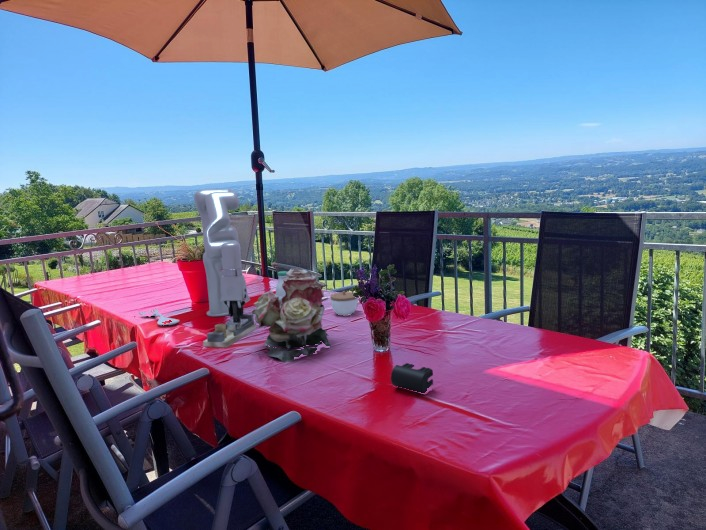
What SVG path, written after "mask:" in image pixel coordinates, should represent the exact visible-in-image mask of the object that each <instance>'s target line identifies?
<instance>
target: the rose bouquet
mask: <svg viewBox="0 0 706 530" xmlns="http://www.w3.org/2000/svg"><path fill="white" fill-rule="evenodd" d="M286 275H287V279H283V281H284V283H283V284H282V287H283V289H284V290H285V292H286V295H285V297H281V296H277V295H276V293H274V292H273V290H272V289H270V290H269V291H266V292H263V293H262V295H260V296H259V297H258V298H257V301H256V302H254V303H253V305H254V306H255V307H256V308H254V309H253V310H251V314H253V315H255V316H254V322H256V324H258V328H259V329H260V328H264V329H266V328H268V329H267V332H268V331H269V334H268V336H267V337H266V340H265V342H264V343H263V345H265V346H266V345H267V346H268V345H269V346H270V347H268V348H267V347H265V346H264V347H265V349H267V350H269V351H268V352H266V355H267V356H269V357H272V358H273V357H274V358H278V359H279V360H280V361H281V362H283V363H289V362H293V361H298V360H297V359H296V360H294V357H299V356H300V355H301V354H303V355H309V356H311V355H310V354H313V353H315V351H316V350H317V348H307V347H308V346H306V345H315V344H318V345H320V344H321V343H322V342H323V343H324V344H325V345H326V346H330V347H331V341H330V340H329V338H328V336H329V337H330V335H329V334H328V333H327V332H328V331H327V330H326V329H323V324H322V320H323V316H324V311H325V305H324V304H323V302H326V301H328V300H329V299H330V298H328V297H326V296H325V292H323V289H324V288H326V287H328V285H327V284H326V283H325V282H321V281H319V280H317V277H319V273H318V272H316V273H315V274H314V273H312V272H311V271H307V269H303V268H296V267H291V268H290V269H289V270H287V272H286ZM325 297H326V298H325ZM320 341H322V342H321V343H320ZM277 346H278V347H279V346H282V347H283V348H275V347H277ZM303 346H305V348H304V349H301V350H287V349H294V348H293V347H297V348H296V349H299V347H303ZM315 346H316V345H315ZM273 347H274V348H273ZM284 348H285V349H284ZM286 361H287V362H286Z"/></svg>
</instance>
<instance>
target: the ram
mask: <svg viewBox="0 0 706 530" xmlns="http://www.w3.org/2000/svg"><path fill="white" fill-rule="evenodd" d="M231 302H232V314H233V316H232V318H231V319H229V320H228V321H226V322H225V324H226V329H227V331H236V330H238V329H239V328H241V327H242V326H244V325H246V324H247V323H248V319H240V317H238V312H237V308H238V302H237V301H231Z"/></svg>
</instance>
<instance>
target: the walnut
mask: <svg viewBox="0 0 706 530" xmlns="http://www.w3.org/2000/svg"><path fill="white" fill-rule="evenodd" d="M214 329H215V330H214V331H215V332H218V333H224V337H225V338H226V337H227V335H226V323H218V324H215V325H214Z"/></svg>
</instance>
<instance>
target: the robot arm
mask: <svg viewBox="0 0 706 530" xmlns="http://www.w3.org/2000/svg"><path fill="white" fill-rule="evenodd" d="M193 197H194V204H195V207H196V211H197V212H198V214H199V216H200V219H201V226H202V235H203V239H202V240H203V247H204V253H203V254H202V261H203V265H204V269H205V270H204V271H205V274H206V283H207V284H206V285H207V294H208V305H209V310H208V311H206V315H207V316H208V317H213V318H214V317H216V318H217V317H224V316H229V318H233V314H232V302H231V301H237V302H238V308H237V312H238V317H241V316H243V314H244V307H245V304H247V303H248V302H250V301H251V298H250V297H249V294H248V287H247V282H246V278H245V276H244V274H243V267H242V266H243V265H242V256H241V255H242V254H241V253H242V249H241V244H240V241H239V239H240V238H239V233H238V230H237V228H236V227H235V226H233V225H230V224H231V217H230V214H229V211H236V210H238V209H239V207H240V199H239V196H238V193H237V192H236V191H235V190H233V189H231V188H207V189H206V188H205V189H199V190H197V191H195V193H194V195H193Z"/></svg>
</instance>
